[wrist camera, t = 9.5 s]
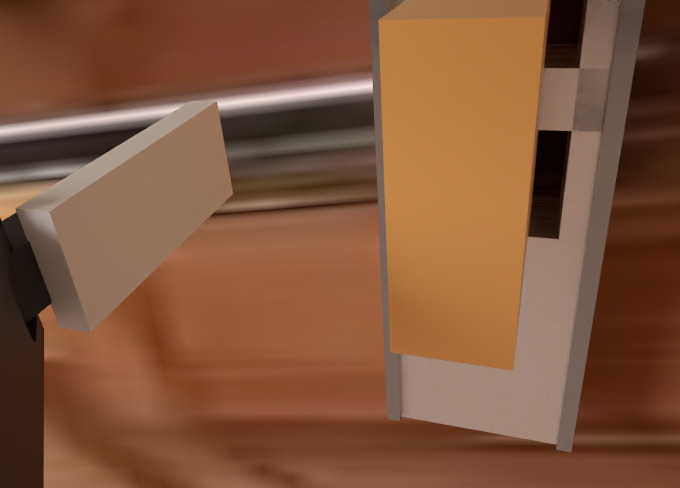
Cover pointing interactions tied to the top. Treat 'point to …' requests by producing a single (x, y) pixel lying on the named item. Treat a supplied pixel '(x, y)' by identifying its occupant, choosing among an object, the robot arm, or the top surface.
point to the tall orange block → (459, 171)
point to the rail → (536, 246)
